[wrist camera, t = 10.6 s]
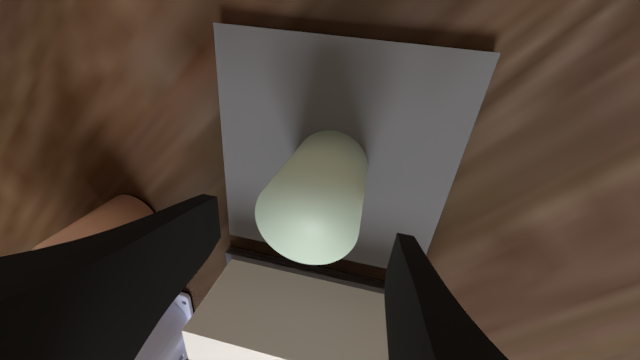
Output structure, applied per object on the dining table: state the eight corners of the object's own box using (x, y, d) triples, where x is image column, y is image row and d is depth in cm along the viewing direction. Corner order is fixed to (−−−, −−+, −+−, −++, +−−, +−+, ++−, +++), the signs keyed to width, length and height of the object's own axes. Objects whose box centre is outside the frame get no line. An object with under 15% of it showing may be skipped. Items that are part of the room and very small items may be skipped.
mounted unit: (404, 322, 22) (412, 429, 16) (233, 280, 24) (182, 361, 18) (416, 288, 20) (431, 394, 14) (230, 246, 22) (172, 323, 16)
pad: (417, 267, 19) (418, 275, 19) (234, 228, 21) (229, 234, 21) (494, 52, 13) (500, 53, 12) (221, 23, 15) (213, 22, 14)
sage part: (361, 203, 17) (351, 274, 12) (294, 190, 18) (256, 252, 12) (373, 136, 15) (368, 186, 10) (297, 125, 16) (253, 166, 10)
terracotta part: (168, 236, 23) (105, 294, 18) (130, 238, 25) (62, 293, 19) (141, 192, 21) (62, 244, 16) (102, 197, 23) (18, 246, 18)
